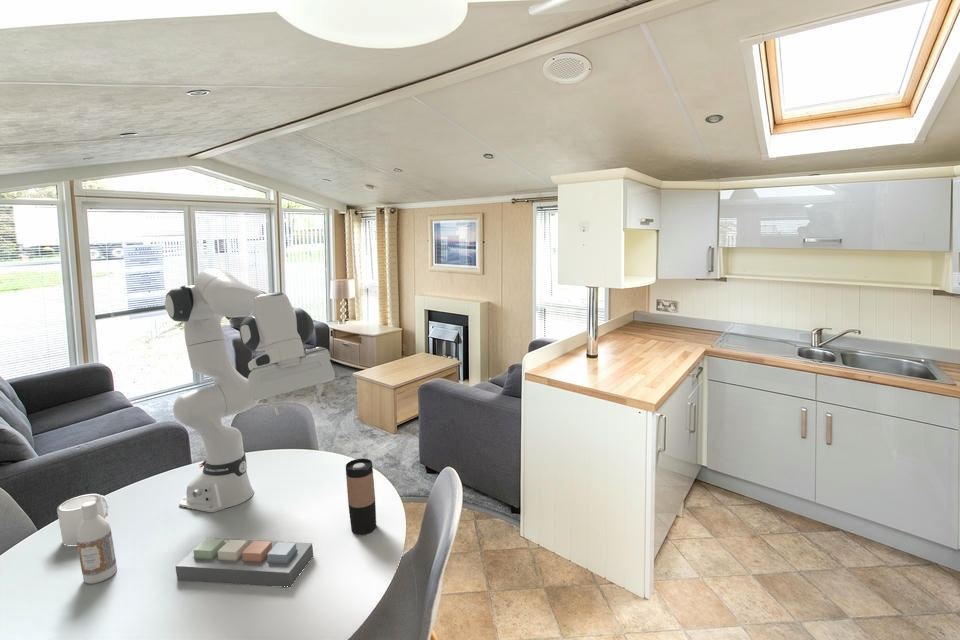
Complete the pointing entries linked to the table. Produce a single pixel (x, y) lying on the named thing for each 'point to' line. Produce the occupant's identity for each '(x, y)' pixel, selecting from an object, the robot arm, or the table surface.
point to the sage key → (208, 549)
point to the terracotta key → (257, 551)
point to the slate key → (282, 552)
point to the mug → (77, 515)
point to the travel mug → (361, 496)
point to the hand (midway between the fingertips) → (300, 408)
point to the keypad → (245, 568)
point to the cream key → (232, 550)
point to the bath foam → (95, 546)
